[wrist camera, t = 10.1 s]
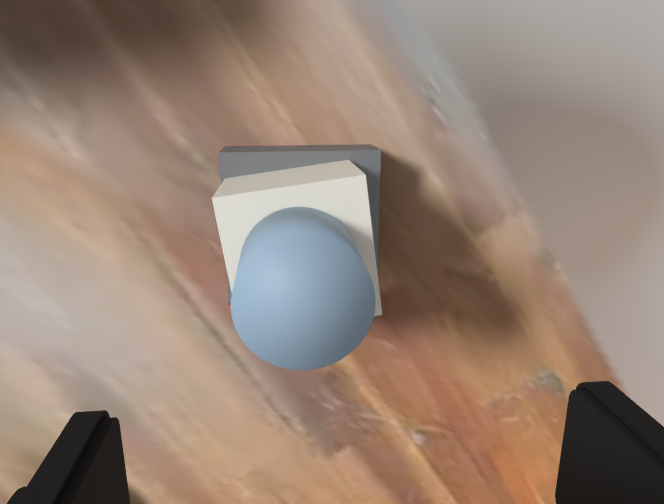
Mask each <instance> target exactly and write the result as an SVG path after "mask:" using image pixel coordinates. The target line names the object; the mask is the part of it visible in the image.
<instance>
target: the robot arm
mask: <svg viewBox="0 0 664 504" xmlns="http://www.w3.org/2000/svg"><path fill="white" fill-rule="evenodd" d="M555 498H556V504H664V427H663V426H662V425H661V424H659V423H658V422H657V421H656V420H655V419H654V418H652V417H651V416H650V415H649V414H648V413H647V412H645V411H644V410H643V409H642V408H640V407H639V406H638V405H637V404H636V403H635V402H633V401H632V400H631V399H630V398H629V397H628V396H626V395H625V394H624V393H623V392H622V391H620V390H619V389H618V388H617V387H616V386H614V385H613V384H612V383H610V382H609V381H599V382H582V383H580V384H578V386H577V387H576V390H573V391H571V393H570V395H569V401H568V408H567V415H566V422H565V429H564V436H563V443H562V450H561V457H560V464H559V471H558V478H557V485H556V492H555ZM7 504H130V499H129V492H128V484H127V477H126V469H125V462H124V454H123V447H122V439H121V432H120V424H119V420H118V418H116V417H114V418H110V416H109V414H108V412H107V411H106V410H105V411H87V412H76V413H74V414H73V415H72V417H71V418H70V420H69V422H68V423H67V425H66V426H65V428H64V429H63V431H62V432H61V434H60V436H59V437H58V439H57V440H56V442H55V443H54V445H53V446H52V448H51V450H50V451H49V453H48V454H47V456H46V457H45V459H44V461H43V462H42V464H41V465H40V467H39V468H38V470H37V471H36V473H35V475H34V476H33V478H32V479H31V481H30V482H29V484H28V486H27V487H22V488H20V489H18V490H17V491H16V492H15V493H14V494H13V495H12V497H11V498H10V500H9V501H8V503H7Z"/></svg>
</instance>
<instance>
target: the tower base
mask: <svg viewBox="0 0 664 504" xmlns="http://www.w3.org/2000/svg"><path fill="white" fill-rule="evenodd" d="M343 160H350V161H351V162H352V163H353V164H354V165H355V166H357V167H358V168H359V169H360V170H361V171H362V172H363V173H365V174H366V182H367V190H368V198H369V207H370V215H371V224H372V232H373V240H374V249H375V257H376V266H377V274H378V264H379V216H380V169H381V150H380V149H378V148H376V147H374V146H372V145H301V146H231V147H224V148H223V149H222V150H221V151H220V152H219V161H220V176H221V184H222V182H223V181H224V179H225V178H232V177H238V176H245V175H251V174H258V173H265V172H271V171H278V170H284V169H291V168H297V167H304V166H311V165H317V164H324V163H330V162H337V161H343ZM227 283H228V298H229V305H231V296H232V292H231V288H230V283H229V278H228V273H227Z"/></svg>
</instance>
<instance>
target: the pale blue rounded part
mask: <svg viewBox="0 0 664 504" xmlns="http://www.w3.org/2000/svg"><path fill="white" fill-rule="evenodd" d="M375 305H376V299H375V290H374V285H373V282H372V279H371V277H370V275H369V273H368V270H367V268H366V266H365V264H364V262H363V260H362V258H361V256H360V254H359V252H358V250H357V248H356V246H355V244H354V242H353V240H352V238H351V236H350V234H349V233H348V231H347V230H346V229H345V227H344V226H343V225H342V224H341V223H340V222H339V221H338V220H336V219H335V218H334V217H332V216H331V215H329V214H327V213H325V212H323V211H320V210H317V209H314V208H308V207H289V208H285V209H281V210H278V211H276V212H273V213H271V214H269V215H268V216H266V217H265V218H263V219H262V220H260V221H259V222H258V223H257V224H256V225H255V226H254V227H253V229H252V230H251V231H250V232H249V234H248V236H247V237H246V239H245V242H244V244H243V247H242V250H241V254H240V259H239V263H238V268H237V272H236V277H235V281H234V286H233V290H232V296H231V314H232V319H233V323H234V326H235V329H236V331H237V333H238V335H239V336H240V338H241V340H242V341H243V343H244V344H245V345H246V346H247V347H248V348H249V349H250V350H251V351H252V352H253V353H254V354H255V355H257V356H258V357H259V358H261V359H262V360H264V361H266V362H268V363H270V364H272V365H275V366H278V367H281V368H286V369H292V370H311V369H317V368H321V367H325V366H328V365H331V364H333V363H335V362H337V361H339V360H341V359H342V358H344V357H345V356H347V355H348V354H350V353H351V352H352V351H353V350H354V349H355V348H356V347H357V346H358V345H359V344H360V343H361V342H362V340H363V339H364V337H365V336H366V334H367V332H368V330H369V329H370V326H371V324H372V321H373V318H374V313H375Z"/></svg>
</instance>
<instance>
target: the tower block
mask: <svg viewBox="0 0 664 504" xmlns="http://www.w3.org/2000/svg"><path fill="white" fill-rule="evenodd" d="M212 201H213V206H214V211H215V216H216V220H217V225H218V230H219V235H220V240H221V244H222V249H223V254H224V259H225V264H226V268H227V273H228V278H229V283H230V288H231V292H232V290H233V286H234V281H235V277H236V272H237V268H238V263H239V259H240V254H241V250H242V247H243V244H244V242H245V239H246V237H247V236H248V234H249V232H250V231H251V230H252V229H253V227H254V226H255V225H256V224H257V223H258V222H259V221H260V220H262V219H263V218H265V217H266V216H268V215H269V214H271V213H273V212H276V211H278V210H281V209H285V208H289V207H308V208H314V209H317V210H320V211H323V212H325V213H327V214H329V215H331V216H332V217H334V218H335V219H336V220H338V221H339V222H340V223H341V224H342V225H343V226H344V227H345V229H346V230H347V231H348V233H349V234H350V236H351V238H352V240H353V242H354V244H355V246H356V248H357V250H358V252H359V254H360V256H361V258H362V260H363V262H364V264H365V266H366V268H367V270H368V273H369V275H370V277H371V279H372V282H373V285H374V290H375V299H376V305H375V313H374V316H379V315H382V308H381V299H380V291H379V282H378V274H377V266H376V257H375V249H374V240H373V232H372V224H371V215H370V207H369V198H368V190H367V182H366V174H365V173H363V172H362V171H361V170H360V169H359V168H358V167H357V166H355V165H354V164H353V163H352V162H351V161H350V160H343V161H337V162H330V163H324V164H317V165H311V166H304V167H297V168H291V169H284V170H278V171H271V172H265V173H258V174H251V175H245V176H238V177H232V178H225V179H224V181H223V182H222V184H221V185H220V187H219V188H218V190H217V191H216V193H215V194H214V196H213V197H212Z"/></svg>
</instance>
